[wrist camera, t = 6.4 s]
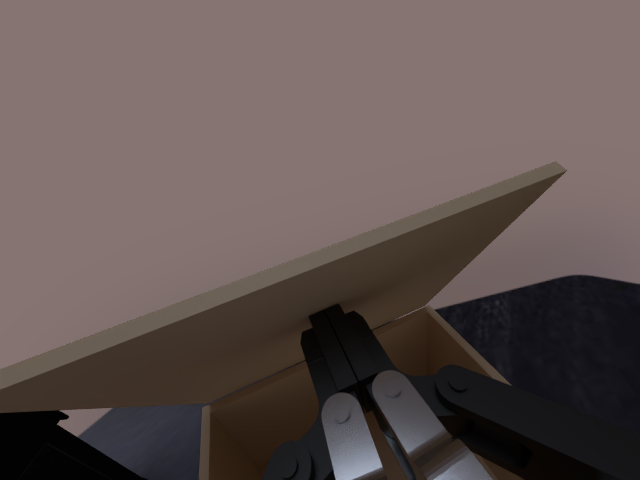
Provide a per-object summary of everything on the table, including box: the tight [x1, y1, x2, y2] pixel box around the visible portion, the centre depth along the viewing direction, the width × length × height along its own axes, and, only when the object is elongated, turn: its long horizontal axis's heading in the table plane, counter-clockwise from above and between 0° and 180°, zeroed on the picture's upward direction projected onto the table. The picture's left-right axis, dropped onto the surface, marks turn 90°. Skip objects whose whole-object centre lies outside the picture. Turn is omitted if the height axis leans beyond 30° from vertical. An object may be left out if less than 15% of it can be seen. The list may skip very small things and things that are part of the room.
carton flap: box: [0, 162, 567, 413], centre depth 15 cm, size 16×19×1 cm
